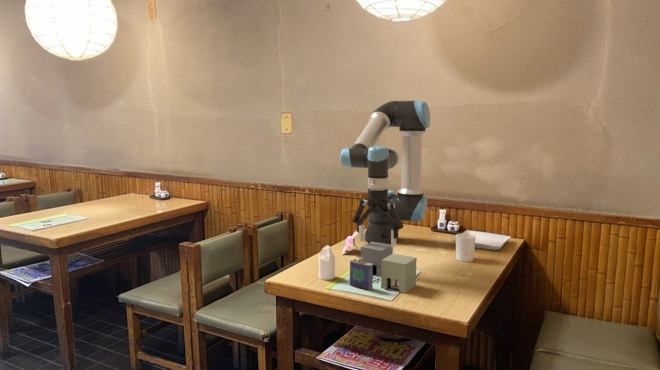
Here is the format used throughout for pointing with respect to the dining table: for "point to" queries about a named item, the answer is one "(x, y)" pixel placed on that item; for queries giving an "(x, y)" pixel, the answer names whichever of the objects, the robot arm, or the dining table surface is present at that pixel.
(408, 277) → the olive cover
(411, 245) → the dining table surface
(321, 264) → the white bottle
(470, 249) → the white cup
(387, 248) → the slate cover
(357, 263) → the flask
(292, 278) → the dining table surface
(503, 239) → the salad plate
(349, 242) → the lily
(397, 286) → the letter cube
